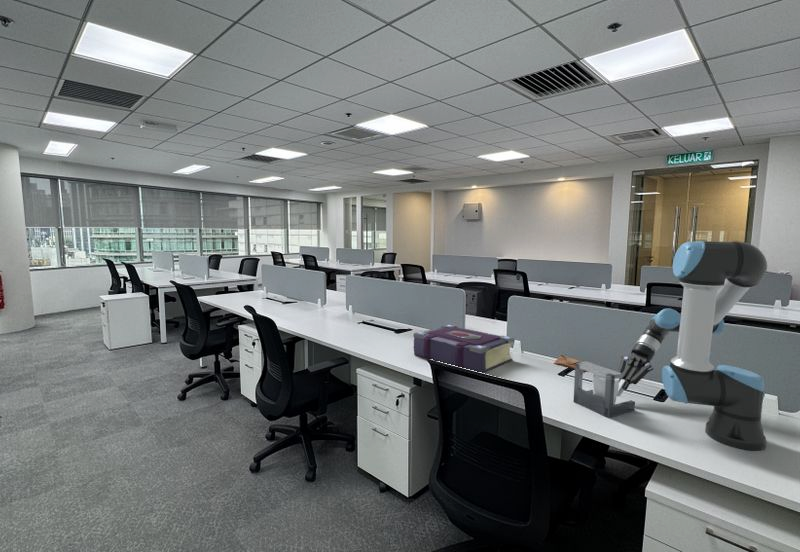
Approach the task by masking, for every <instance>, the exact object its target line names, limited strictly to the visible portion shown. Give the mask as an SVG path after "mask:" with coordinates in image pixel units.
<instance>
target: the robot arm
mask: <svg viewBox="0 0 800 552" xmlns="http://www.w3.org/2000/svg"><path fill="white" fill-rule="evenodd" d="M767 270H768V261H767V259H766V256H765V255H764V253H763V251H761V250H760V248H758V247H756V246H754V245H753V244H751V243H748V242H745V241H712V240H711V241H710V240H709V241H705V240H704V241H703V240H695V241H686V242H684V243H682V244H681V245H680V246H679V247H678V249H677V250H676V251H675V254H674V256H673V262H672V272H673V276H675V277H676V278H678V282H679V284H680V285H681V286H682V287H683V293H682V302H681V312H678V311H677V310H675V309H672V308H663V309H662V310H660V311H659V312H658V313H657V314H656V315H654V316H653V317H652V318H651V320H649V322H648V324H647V326H646V327H645V329H644V330H643V332H642V333H641V335H640V337H639V338H638V339H637V341H636V344H634V346H633V348H632V349H631V351H630V353H629V354H628V355H627V356H623V355H620V362H619V365H618V368H617V371H616V372H619V373H622V378H618V379H619V388H618V393H617V397H621V396H622V394H623V393H624V391H627V390H628V389H629V387H630V385H632V384H633V385H637V384H638V383H639V382H640V381H641V380H642V379H644V377H645V376H646V375H647V374H649V372H651V371H653V370H654V367H653V365H652V364H651V361H652V359H653V357H654V356H655V355H656V354H655V353H657V351H658V350H659V348H660V347H661V345H662V343H663V342H664V340H665V338H666V337H667V336H668V335H669V334H671V333H673V332H674V333H678V339H677V341H678V342H677V348H676V355H675V356H674V357H673V358H671V359H670V363H669V365H664V366H663V367H662V370H661V379H662V380H661V381H662V385H663V388H664V389H663V390H664V391H665V393H666V395H667V397H668V398H669V399H670V400H671V401H673V402H677V403H684V404H685V405H686V404H692V405H699V406H700V405H702V406H711V407H713V411H712V413H711V415H710V416H709V419H707V422H706V424H705V428H704V430H705V431H704V432H705V434H706V435H707V436H709V437H710V438H711V439H713V440H715V441H717V442H720V443H722V444H724V445H728V446H731V447H734V448H738V449H742V450H746V451H747V450H748V451H762V450H764V449H766V447H767V437H766V436H765V434H764V430H763V429H764V428H763V425H762V411H763V403H764V402H763V401H764V393H765V381H764V380H765V379H764V378H763V377H762V376H761V375H759V374H758V373H756V372H753V371H750V370H747V369H744V368H742V367H741V368H740V367H738V366H737V367H736V366H733V365H727V364H718V365H717V367H716V369H715V367H714V365H713V364H712V363H711V362H710V357H711V355H710V354H711V349H712V348H711V346H712V336H713V335H720V334H721V333H723V331H724V328H725V321H724V318H725V317H726V316H727V314H728V313H730V311H731V310H732V309H733V308H734V307H735V305H736V304H737V303H738V302H739V301H740V300H741V299H742V298H743V296H744V295H745V294H746V293H747V292H748V291H749V289H750V288H751V289H752V288H755V287H757V286H758V285H759V284H760V283H761V281H763V279H764V278H765V276H766V275H767Z"/></svg>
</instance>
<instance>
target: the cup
mask: <svg viewBox="0 0 800 552" xmlns="http://www.w3.org/2000/svg"><path fill="white" fill-rule="evenodd" d="M605 386H606V378H605V377H602V376H599V375H596V374H594V373H593V376H592V390H593V394H595V395H597V396H600V397H602V398H605ZM618 388H619V378H617V379H615V382H614V398H613V405H615V404H616V401H617V397H618V396H617V393H618Z"/></svg>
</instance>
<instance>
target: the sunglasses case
mask: <svg viewBox="0 0 800 552" xmlns="http://www.w3.org/2000/svg"><path fill="white" fill-rule="evenodd" d="M579 362H584V361H582V360H579V359H576V358H572V357H569V356H565V355H563V354H561V355H560V356H558V358H557V359H556V360H555V361H554V362H553V363H552V364H553V365H557V366H561V367H564V368H567V367H568V368H567V369H570V368H571V370H574V371H575V363H579ZM586 372H588V371H585V370H583V374H584V373H586Z"/></svg>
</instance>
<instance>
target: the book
mask: <svg viewBox="0 0 800 552" xmlns="http://www.w3.org/2000/svg"><path fill="white" fill-rule="evenodd" d="M513 342H515V338H514V337H512V336H507V335H499V334H498V335H497V334H492V333H491V334H490V333H488V332H483V331H478V330H473V329H468V328H463V327H459V326H456V325H453V324H446V325H442V326H440V327H437V328H436V329H429V330H424V331H421V330H420V331H417V332H414V333H413V354H414V356H416V357H418V358H419V357H420V358H422V359H425V360H428V359H433V360H435V361H440V362H443V363H447V364H451V365H455V366H458V367H462V368H466V369H470V370H474V371H477V372H482V373H483V374H485V373H487V372H489V371H492V370H494V369H496V368H499V367H501V366H503V365H506V364H508V363H510V362H512V361H513V358H512V357H511V354H510V353H511V344H512V343H513ZM509 361H510V362H509ZM507 362H508V363H507ZM505 363H506V364H505Z"/></svg>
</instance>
